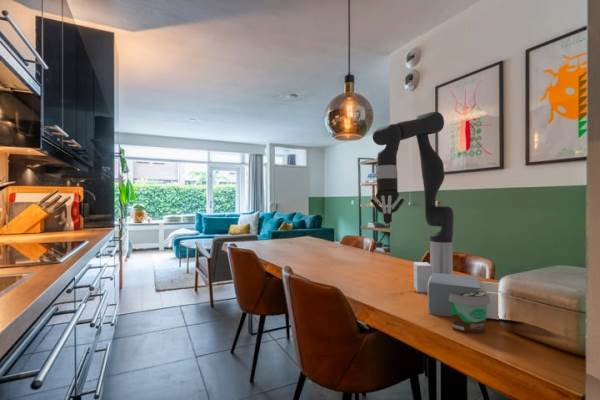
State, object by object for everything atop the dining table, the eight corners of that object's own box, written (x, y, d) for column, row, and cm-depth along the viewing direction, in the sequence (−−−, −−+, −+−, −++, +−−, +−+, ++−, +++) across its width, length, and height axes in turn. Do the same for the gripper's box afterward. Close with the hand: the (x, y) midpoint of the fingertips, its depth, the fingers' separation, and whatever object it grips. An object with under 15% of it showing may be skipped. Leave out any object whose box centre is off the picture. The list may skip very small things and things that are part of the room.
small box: (432, 293, 118) (432, 265, 118) (417, 292, 119) (416, 265, 119) (428, 287, 126) (427, 262, 126) (413, 287, 127) (413, 261, 127)
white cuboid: (427, 309, 97) (427, 284, 97) (431, 297, 109) (430, 275, 109) (523, 322, 85) (522, 294, 86) (514, 307, 98) (514, 283, 98)
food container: (469, 339, 77) (468, 299, 77) (448, 330, 83) (448, 293, 83) (501, 331, 82) (500, 293, 82) (479, 323, 88) (479, 288, 88)
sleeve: (429, 313, 96) (428, 282, 96) (432, 299, 110) (432, 272, 110) (481, 321, 89) (480, 288, 89) (477, 305, 103) (477, 276, 104)
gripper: (406, 178, 117) (407, 223, 117) (372, 179, 123) (372, 222, 123) (403, 176, 110) (404, 224, 110) (367, 178, 116) (367, 223, 116)
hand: (387, 223), depth 116 cm, fingers closed
